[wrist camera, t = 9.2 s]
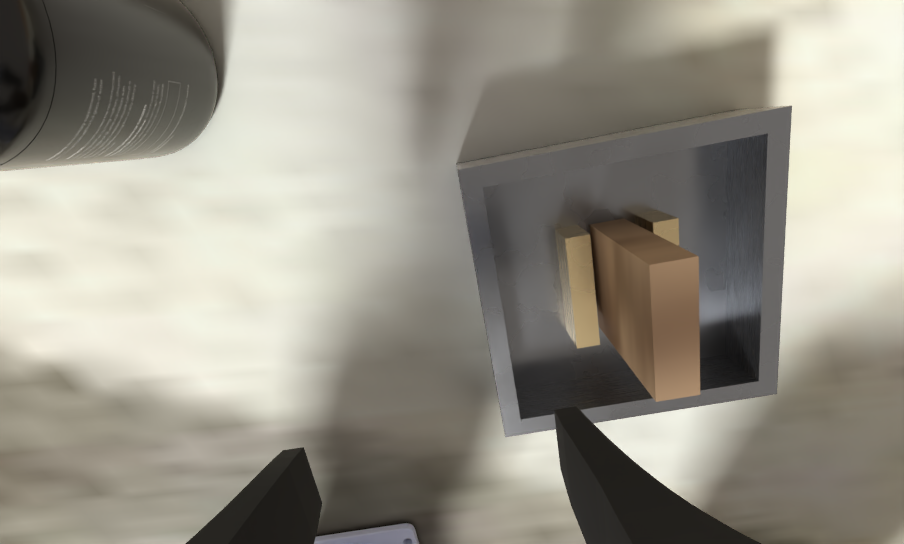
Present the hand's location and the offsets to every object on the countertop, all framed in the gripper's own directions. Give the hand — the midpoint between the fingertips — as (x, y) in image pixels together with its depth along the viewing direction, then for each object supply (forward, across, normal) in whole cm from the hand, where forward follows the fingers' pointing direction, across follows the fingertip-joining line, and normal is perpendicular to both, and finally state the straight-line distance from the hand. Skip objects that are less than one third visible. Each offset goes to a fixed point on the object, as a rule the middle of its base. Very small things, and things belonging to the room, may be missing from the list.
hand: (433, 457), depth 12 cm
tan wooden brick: (+9, -8, -1) cm, 12 cm away
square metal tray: (+9, -8, -1) cm, 12 cm away
